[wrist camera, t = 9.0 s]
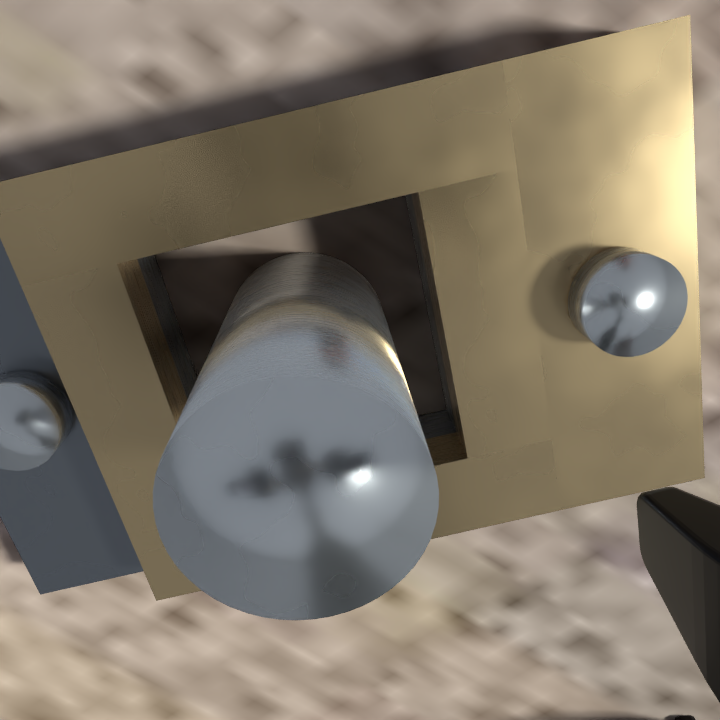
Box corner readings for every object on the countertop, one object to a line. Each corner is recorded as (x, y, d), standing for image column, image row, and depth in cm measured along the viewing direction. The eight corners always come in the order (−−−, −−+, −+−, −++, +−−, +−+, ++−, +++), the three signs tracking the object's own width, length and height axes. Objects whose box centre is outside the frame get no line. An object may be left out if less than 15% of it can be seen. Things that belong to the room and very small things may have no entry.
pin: (398, 381, 19) (459, 588, 11) (253, 415, 19) (203, 644, 11) (366, 235, 18) (410, 345, 9) (207, 273, 18) (109, 414, 9)
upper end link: (651, 427, 20) (725, 497, 17) (178, 535, 21) (147, 627, 17) (626, 32, 16) (717, 7, 13) (35, 174, 17) (-47, 192, 13)
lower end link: (527, 455, 20) (554, 499, 18) (58, 562, 21) (26, 618, 19) (471, 69, 16) (496, 61, 14) (-113, 210, 17) (-183, 226, 14)
